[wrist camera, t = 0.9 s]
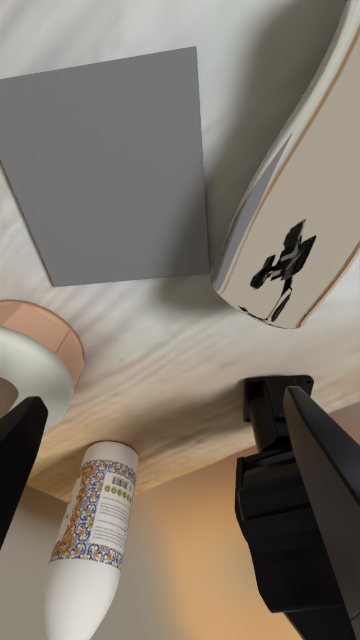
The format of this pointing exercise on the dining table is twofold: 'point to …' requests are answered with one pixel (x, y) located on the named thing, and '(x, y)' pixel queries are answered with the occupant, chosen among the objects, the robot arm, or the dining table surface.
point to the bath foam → (90, 543)
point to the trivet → (110, 167)
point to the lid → (32, 375)
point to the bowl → (45, 332)
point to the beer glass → (302, 199)
